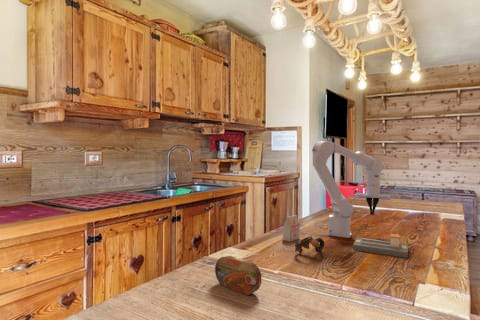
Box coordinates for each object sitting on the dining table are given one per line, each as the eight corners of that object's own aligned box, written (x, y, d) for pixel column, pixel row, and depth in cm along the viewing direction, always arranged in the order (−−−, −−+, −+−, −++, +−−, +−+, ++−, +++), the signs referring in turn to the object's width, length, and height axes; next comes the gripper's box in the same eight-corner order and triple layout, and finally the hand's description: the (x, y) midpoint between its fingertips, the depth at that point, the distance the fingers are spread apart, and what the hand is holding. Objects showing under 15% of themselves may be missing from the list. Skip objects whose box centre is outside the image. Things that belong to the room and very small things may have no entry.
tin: (214, 283, 94) (214, 253, 93) (221, 279, 96) (222, 251, 96) (255, 299, 84) (256, 267, 84) (263, 295, 86) (263, 263, 86)
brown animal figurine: (314, 264, 111) (302, 242, 113) (297, 268, 119) (286, 247, 120) (335, 249, 118) (324, 229, 120) (318, 254, 126) (308, 234, 127)
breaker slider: (390, 246, 125) (390, 236, 125) (390, 243, 128) (391, 233, 128) (399, 247, 124) (399, 237, 123) (399, 244, 127) (399, 234, 127)
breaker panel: (352, 249, 127) (353, 243, 127) (356, 241, 138) (356, 235, 138) (407, 257, 119) (408, 250, 119) (407, 248, 129) (407, 242, 129)
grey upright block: (282, 239, 139) (283, 216, 139) (292, 237, 144) (293, 214, 144) (289, 241, 137) (290, 217, 136) (299, 238, 141) (300, 215, 141)
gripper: (355, 184, 148) (354, 214, 149) (390, 186, 143) (389, 217, 143) (356, 183, 155) (355, 211, 155) (390, 185, 149) (389, 214, 150)
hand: (372, 214), depth 150 cm, fingers closed
